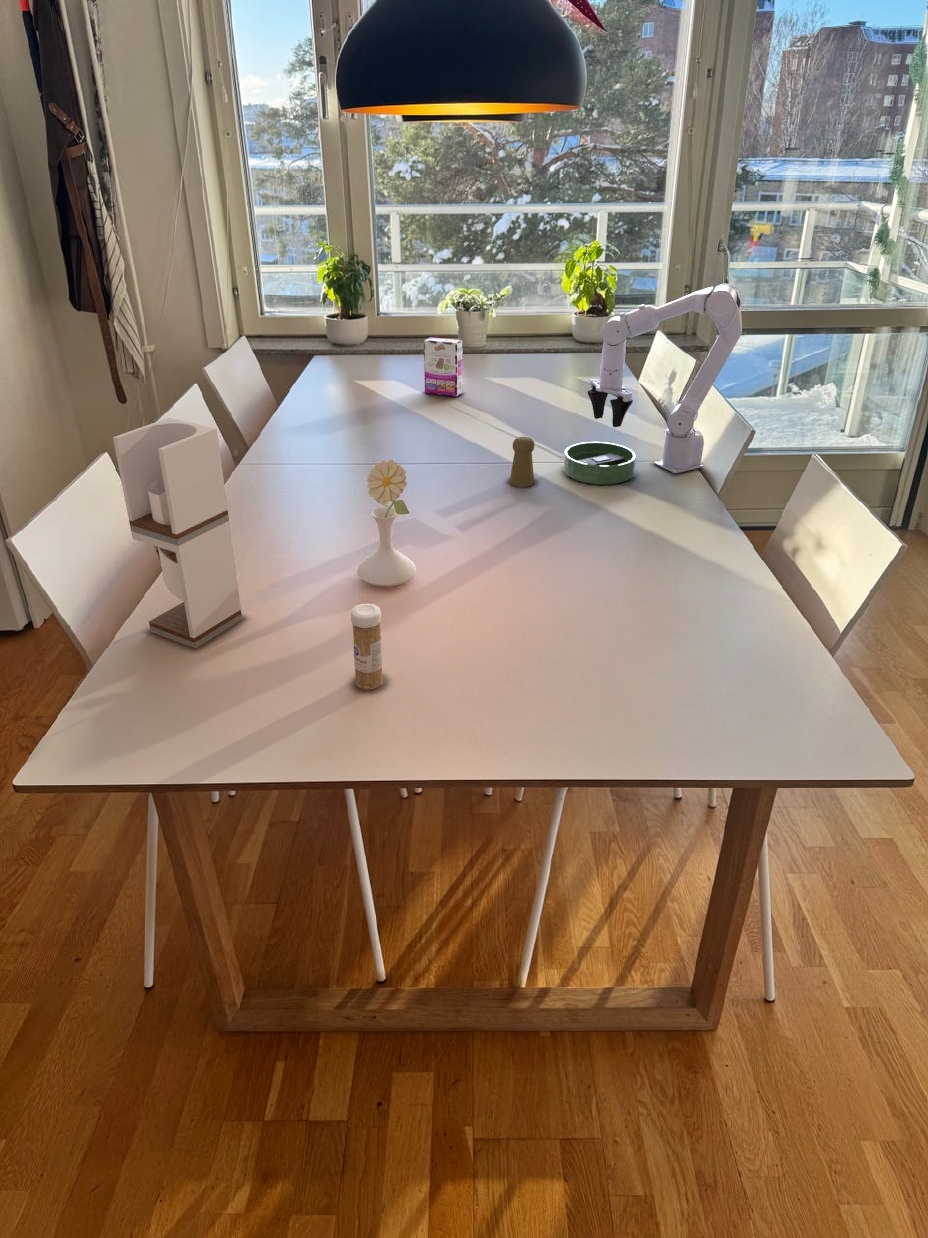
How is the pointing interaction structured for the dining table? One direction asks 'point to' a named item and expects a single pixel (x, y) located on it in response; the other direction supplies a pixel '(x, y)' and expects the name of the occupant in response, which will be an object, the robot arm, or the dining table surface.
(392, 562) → the flower in vase
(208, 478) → the white tiered shelf stand
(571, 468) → the bowl
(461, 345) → the candy bar box
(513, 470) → the cork
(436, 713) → the dining table surface
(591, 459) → the remote
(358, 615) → the sprinkles bottle
